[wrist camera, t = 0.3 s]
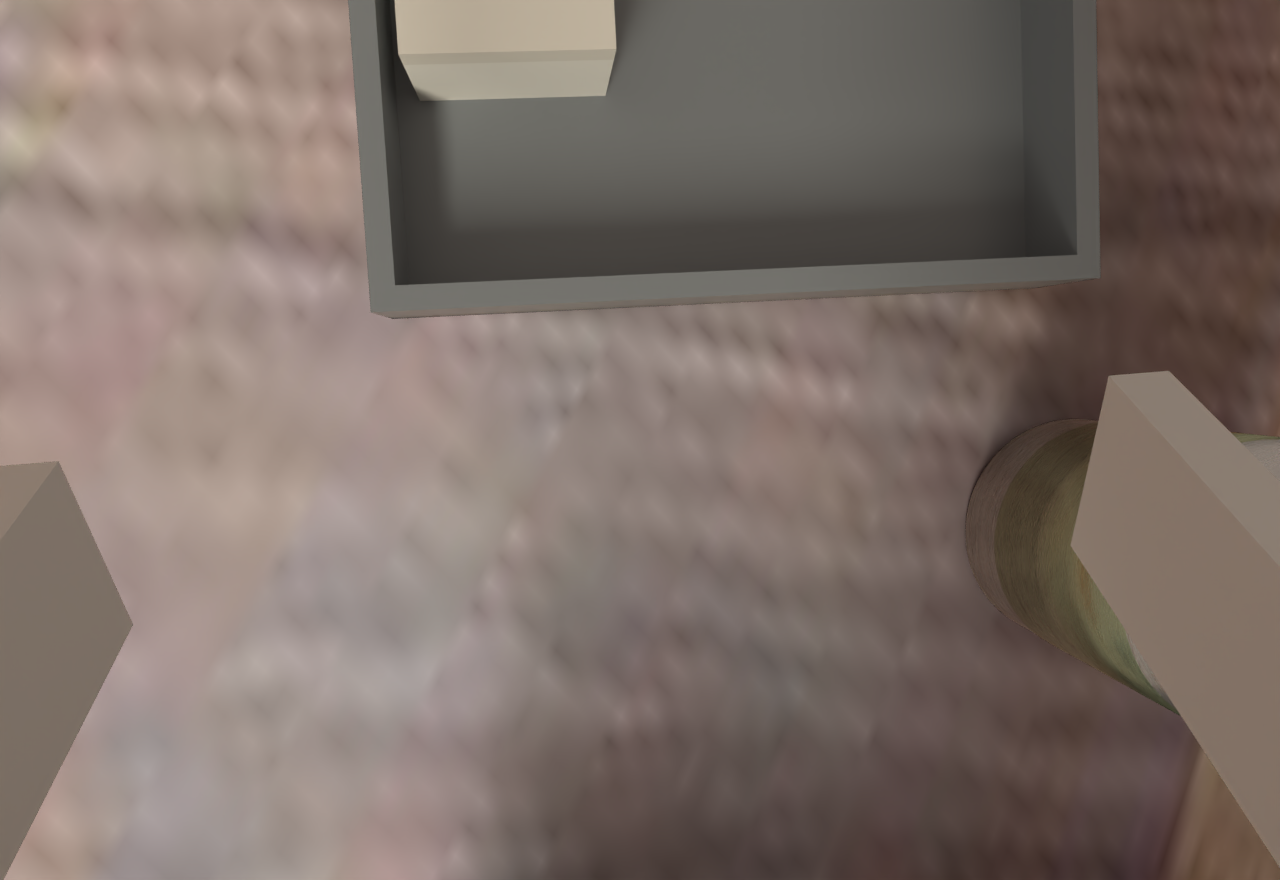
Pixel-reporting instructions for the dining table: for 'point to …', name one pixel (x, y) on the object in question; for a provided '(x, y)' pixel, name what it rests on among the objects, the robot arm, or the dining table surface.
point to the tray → (743, 161)
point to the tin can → (1057, 547)
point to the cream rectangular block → (506, 47)
